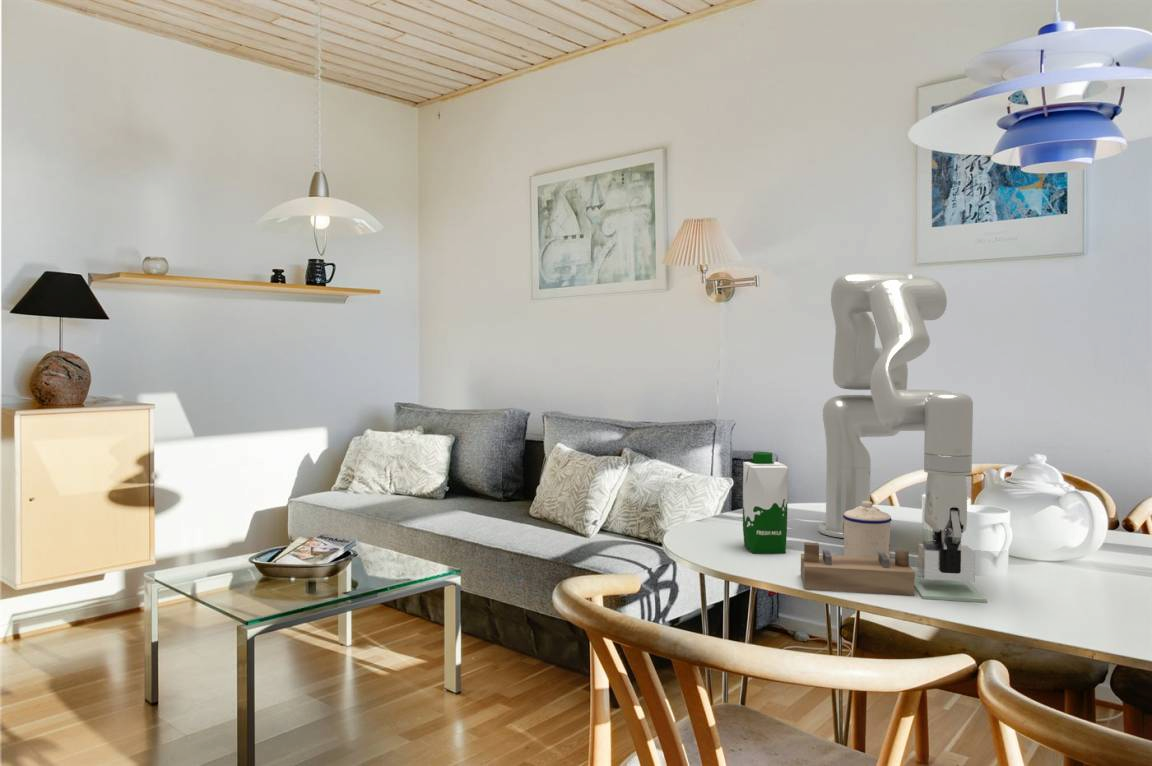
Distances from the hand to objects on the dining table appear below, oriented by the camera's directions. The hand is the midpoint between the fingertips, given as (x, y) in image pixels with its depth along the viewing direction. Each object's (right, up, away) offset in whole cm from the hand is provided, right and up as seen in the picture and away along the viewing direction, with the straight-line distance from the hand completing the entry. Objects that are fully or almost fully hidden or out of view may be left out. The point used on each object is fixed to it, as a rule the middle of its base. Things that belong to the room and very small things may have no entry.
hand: (945, 567), depth 138 cm
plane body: (-15, -4, +3) cm, 16 cm away
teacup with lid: (-7, -3, +22) cm, 23 cm away
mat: (0, -4, 0) cm, 4 cm away
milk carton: (-25, -3, +29) cm, 38 cm away
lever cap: (0, -2, 0) cm, 2 cm away
